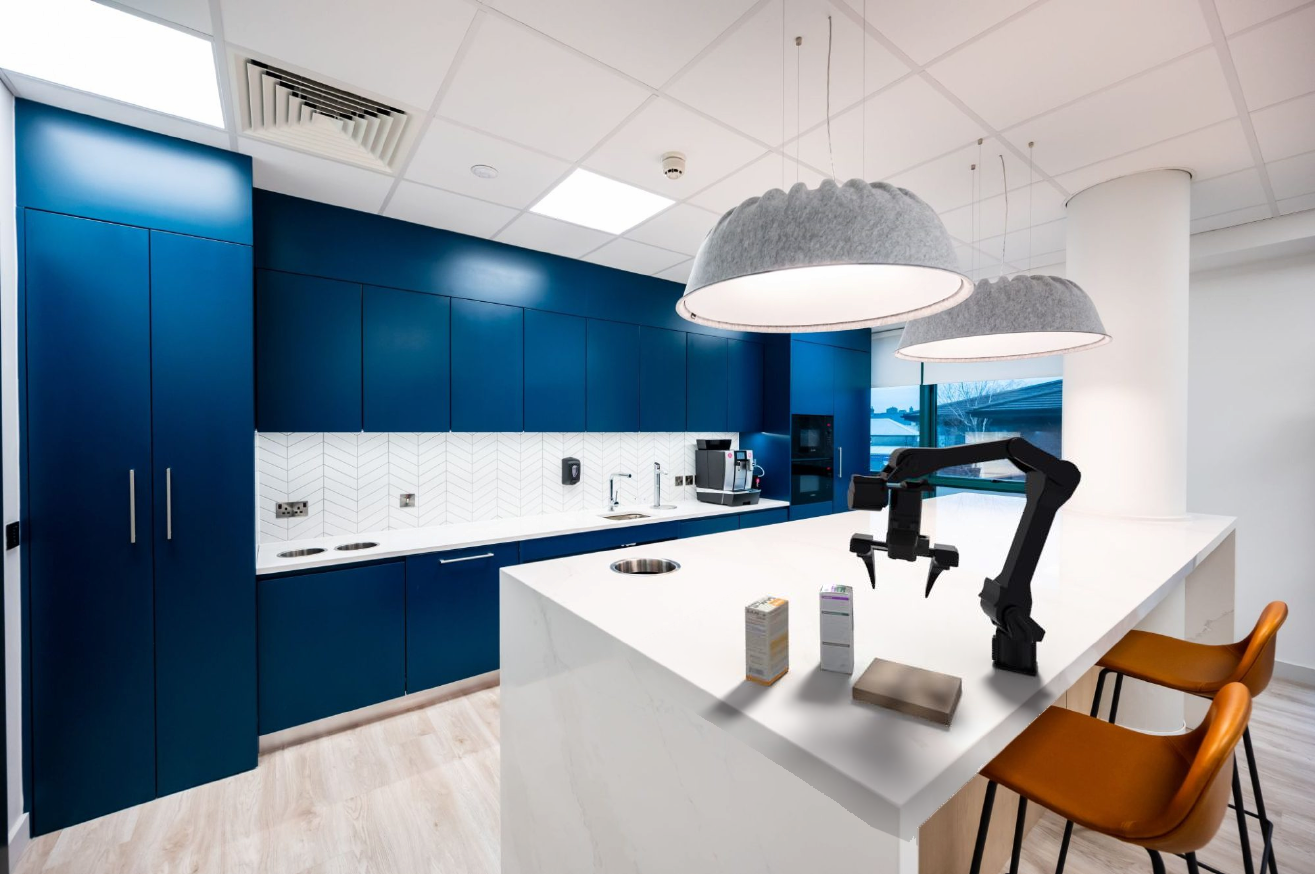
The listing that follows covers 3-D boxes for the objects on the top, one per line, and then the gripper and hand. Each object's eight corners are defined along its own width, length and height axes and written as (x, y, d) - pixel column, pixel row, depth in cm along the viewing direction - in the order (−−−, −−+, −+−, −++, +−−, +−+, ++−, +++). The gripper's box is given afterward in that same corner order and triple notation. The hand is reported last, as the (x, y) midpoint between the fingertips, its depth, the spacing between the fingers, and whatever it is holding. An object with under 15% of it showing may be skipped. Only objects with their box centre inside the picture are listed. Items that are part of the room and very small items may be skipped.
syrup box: (853, 674, 97) (853, 594, 97) (819, 669, 99) (819, 590, 99) (854, 662, 102) (854, 585, 102) (821, 657, 104) (821, 582, 104)
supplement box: (766, 663, 102) (766, 594, 101) (789, 670, 99) (789, 599, 98) (743, 679, 95) (743, 605, 95) (768, 687, 92) (768, 610, 92)
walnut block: (961, 692, 91) (961, 677, 91) (948, 729, 80) (948, 713, 80) (875, 670, 99) (875, 657, 99) (852, 701, 88) (852, 686, 88)
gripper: (848, 514, 100) (843, 597, 101) (964, 527, 92) (957, 617, 93) (854, 504, 110) (850, 579, 111) (959, 516, 102) (953, 596, 103)
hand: (899, 592), depth 104 cm, fingers open, 9 cm apart
